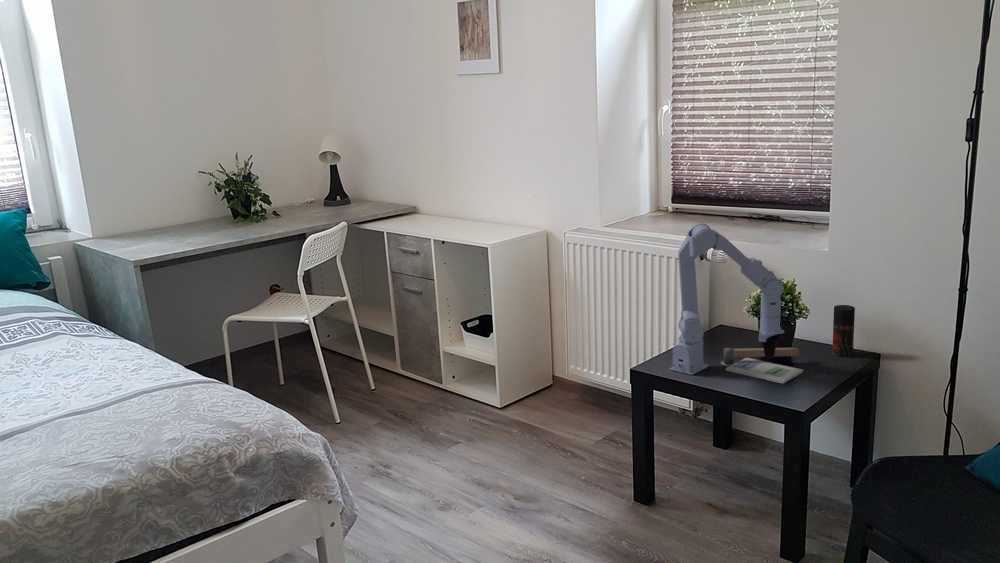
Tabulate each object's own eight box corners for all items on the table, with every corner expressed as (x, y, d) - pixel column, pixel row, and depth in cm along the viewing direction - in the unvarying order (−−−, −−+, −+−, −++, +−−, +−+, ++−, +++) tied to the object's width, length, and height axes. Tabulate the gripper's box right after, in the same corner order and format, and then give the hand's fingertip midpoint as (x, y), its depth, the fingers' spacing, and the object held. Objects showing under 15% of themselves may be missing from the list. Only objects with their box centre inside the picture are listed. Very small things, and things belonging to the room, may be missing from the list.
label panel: (783, 383, 233) (783, 380, 233) (711, 367, 250) (711, 364, 250) (803, 372, 241) (803, 369, 241) (731, 356, 258) (731, 353, 258)
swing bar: (724, 363, 251) (724, 351, 250) (723, 360, 254) (723, 347, 253) (799, 362, 248) (799, 349, 247) (797, 359, 250) (797, 346, 249)
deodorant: (854, 357, 251) (856, 310, 247) (834, 356, 252) (835, 310, 249) (850, 350, 257) (852, 304, 253) (830, 350, 258) (832, 304, 254)
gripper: (775, 323, 236) (774, 367, 240) (791, 310, 248) (790, 353, 251) (751, 320, 241) (751, 363, 244) (768, 308, 252) (767, 350, 255)
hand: (769, 358), depth 248 cm, fingers closed
